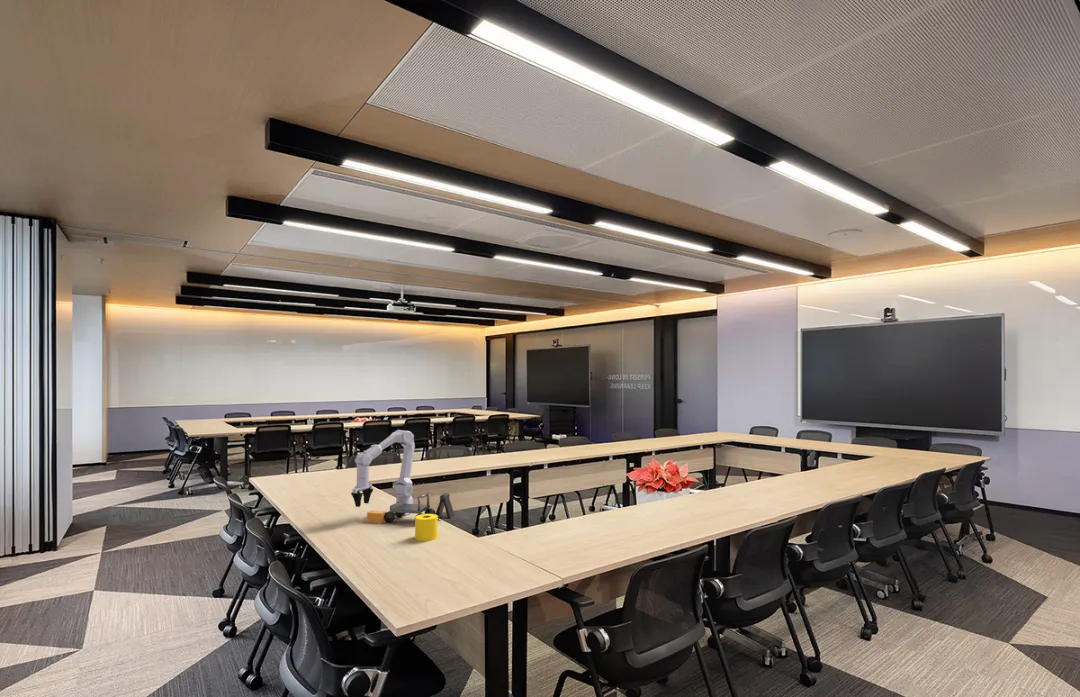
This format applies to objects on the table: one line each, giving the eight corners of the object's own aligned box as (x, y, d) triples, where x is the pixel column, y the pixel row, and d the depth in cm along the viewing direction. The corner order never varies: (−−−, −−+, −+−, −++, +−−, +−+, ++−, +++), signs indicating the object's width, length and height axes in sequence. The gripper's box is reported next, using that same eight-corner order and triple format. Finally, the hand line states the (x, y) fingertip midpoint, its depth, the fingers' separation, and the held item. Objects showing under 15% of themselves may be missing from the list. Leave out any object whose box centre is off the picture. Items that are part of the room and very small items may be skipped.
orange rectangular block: (371, 520, 277) (371, 510, 277) (385, 521, 275) (386, 511, 275) (366, 522, 272) (367, 512, 273) (381, 523, 270) (381, 513, 271)
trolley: (395, 516, 283) (396, 490, 284) (435, 519, 278) (435, 492, 278) (383, 522, 272) (384, 495, 272) (424, 525, 266) (425, 497, 267)
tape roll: (417, 542, 240) (417, 520, 240) (413, 536, 249) (413, 515, 249) (439, 539, 244) (440, 518, 244) (434, 533, 253) (434, 513, 253)
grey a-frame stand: (454, 516, 284) (455, 493, 284) (450, 519, 278) (450, 495, 278) (438, 515, 286) (438, 492, 286) (434, 518, 280) (434, 494, 280)
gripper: (363, 474, 282) (363, 501, 281) (347, 479, 268) (346, 507, 267) (375, 475, 280) (375, 502, 279) (360, 480, 266) (359, 508, 265)
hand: (362, 504), depth 273 cm, fingers open, 7 cm apart
